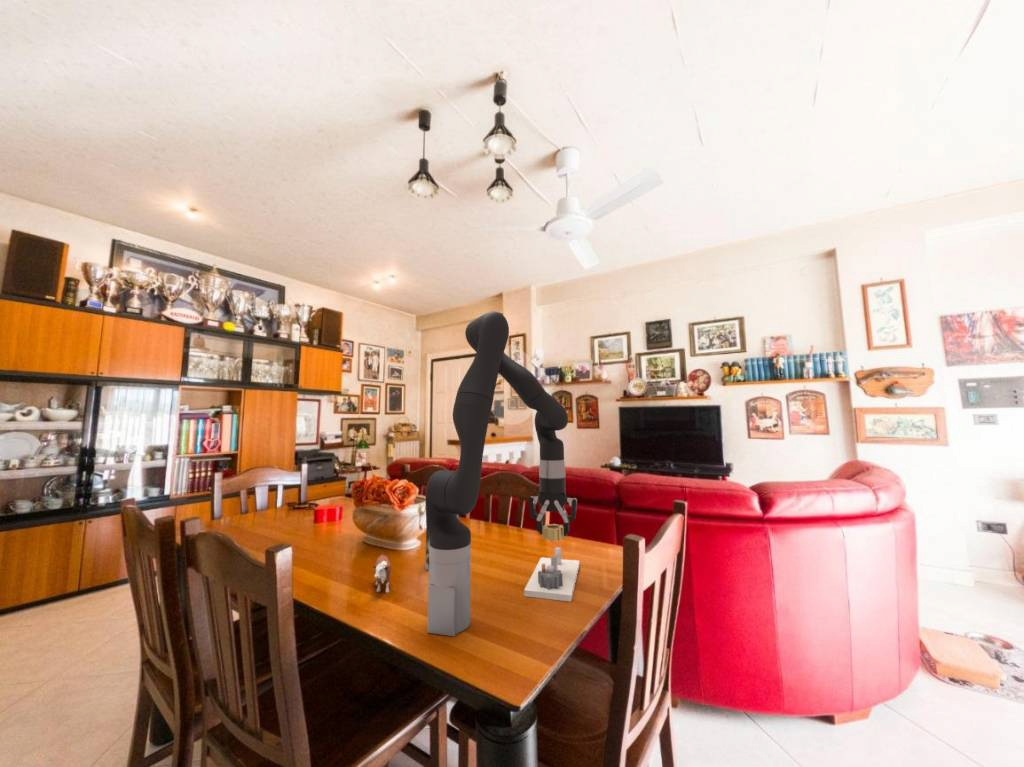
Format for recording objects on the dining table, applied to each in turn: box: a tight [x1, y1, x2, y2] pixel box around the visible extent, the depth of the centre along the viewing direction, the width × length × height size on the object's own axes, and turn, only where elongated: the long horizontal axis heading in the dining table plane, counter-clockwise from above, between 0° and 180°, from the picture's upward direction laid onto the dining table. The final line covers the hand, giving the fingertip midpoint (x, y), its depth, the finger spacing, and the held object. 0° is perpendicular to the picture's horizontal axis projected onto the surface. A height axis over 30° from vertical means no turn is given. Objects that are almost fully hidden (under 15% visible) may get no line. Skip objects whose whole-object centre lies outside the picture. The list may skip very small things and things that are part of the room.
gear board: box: [523, 546, 581, 603], centre depth 107 cm, size 24×12×6 cm, turn 165°
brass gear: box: [541, 523, 566, 542], centre depth 108 cm, size 6×6×3 cm
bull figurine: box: [373, 554, 392, 594], centre depth 102 cm, size 4×13×8 cm, turn 15°
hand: (553, 534), depth 108 cm, fingers closed on brass gear, 6 cm apart
